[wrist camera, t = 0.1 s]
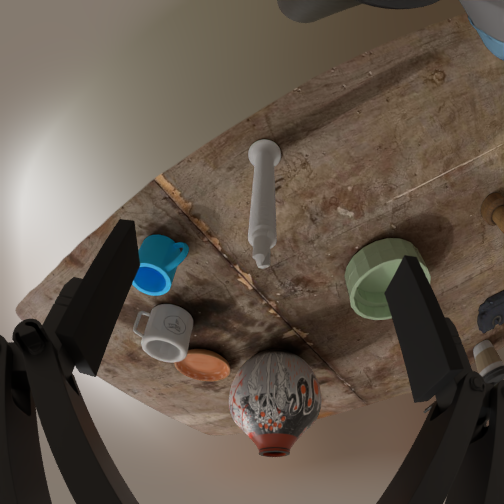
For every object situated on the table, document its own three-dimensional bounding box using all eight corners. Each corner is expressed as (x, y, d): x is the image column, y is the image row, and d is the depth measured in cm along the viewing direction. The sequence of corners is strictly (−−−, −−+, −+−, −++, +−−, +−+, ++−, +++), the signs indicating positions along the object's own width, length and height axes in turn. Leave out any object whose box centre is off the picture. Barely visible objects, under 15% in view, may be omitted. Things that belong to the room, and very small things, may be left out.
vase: (307, 326, 72) (315, 437, 50) (324, 370, 86) (330, 458, 64) (219, 342, 78) (206, 443, 56) (250, 381, 92) (245, 464, 70)
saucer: (223, 344, 78) (222, 353, 76) (236, 372, 88) (235, 381, 86) (168, 345, 81) (165, 354, 78) (187, 373, 91) (185, 381, 88)
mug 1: (158, 271, 63) (148, 300, 57) (133, 244, 59) (119, 272, 52) (204, 251, 59) (197, 281, 53) (179, 219, 54) (167, 248, 48)
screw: (273, 293, 28) (222, 274, 27) (271, 173, 48) (243, 160, 47) (302, 256, 25) (246, 232, 24) (286, 148, 45) (257, 133, 44)
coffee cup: (462, 355, 83) (474, 392, 72) (481, 336, 76) (495, 373, 64) (481, 354, 84) (493, 388, 72) (499, 335, 77) (514, 370, 65)
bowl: (405, 220, 52) (418, 244, 47) (426, 273, 60) (437, 296, 55) (330, 260, 59) (335, 286, 53) (362, 305, 67) (368, 329, 61)
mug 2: (201, 315, 71) (194, 350, 63) (183, 335, 77) (176, 368, 69) (148, 290, 67) (136, 325, 59) (136, 314, 73) (124, 346, 65)
